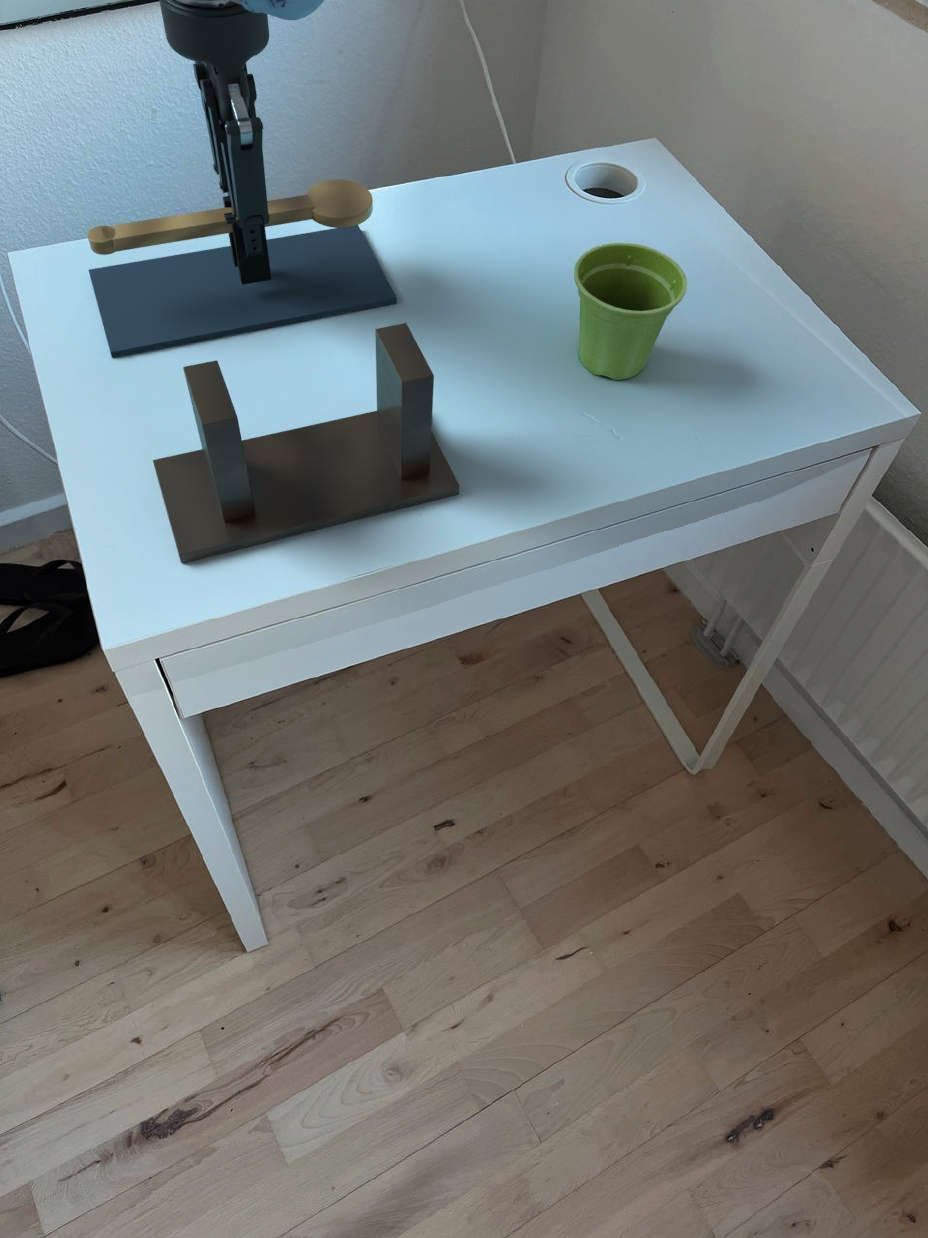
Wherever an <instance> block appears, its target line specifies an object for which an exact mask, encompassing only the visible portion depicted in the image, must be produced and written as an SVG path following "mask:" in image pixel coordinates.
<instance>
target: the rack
mask: <svg viewBox="0 0 928 1238" xmlns="http://www.w3.org/2000/svg"><path fill="white" fill-rule="evenodd" d="M374 332H375V375H376V377H375V378H376V379H375V381H376V382H375V383H376V410H374V411H369V412H365V413H364V412H363V413H359V414H356V415H355V414H354V415H352V416H351V415H350V416H347V417H342V418H338V419H333V420H329V421H324V422H320V423H315V424H310V425H305V426H301V427H297V428H292V429H288V430H283V431H277V432H274V433H269V434H265V435H261V436H256V437H252V438H246V439H243V440H242V434H241V429H240V422H239V418H238V415H237V413H236V409H235V406H234V403H233V401H232V400H233V399H232V398H231V394H230V392H229V389H228V387H227V384H226V381H225V378H224V375H223V372H222V369H221V366H220V364H219V361H218V360H217V359H216V360H212V361H207V362H206V361H205V362H201V363H196V364H191V365H185V366H183V367H182V369H183V373H184V377H185V382H186V386H187V390H188V395H189V398H190V403H191V406H192V407H191V408H192V412H193V415H194V420H195V424H196V428H197V432H198V436H199V441H200V445H201V449H197V450H193V451H192V450H191V451H188V452H184V453H179V454H174V455H170V456H166V457H161V458H156V459H153V460H152V463H153V467H154V471H155V474H156V478H157V481H158V485H159V488H160V493H161V496H162V499H163V504H164V508H165V510H166V514H167V518H168V521H169V525H170V529H171V531H172V536H173V539H174V543H175V547H176V550H177V555H178V557H179V560H180V563H181V564H184V563H189V562H193V561H197V560H200V559H205V558H208V557H213V556H216V555H217V556H218V555H221V554H224V553H229V552H233V551H237V550H240V549H244V548H249V547H253V546H258V545H261V544H265V543H269V542H272V541H278V540H281V539H285V538H288V537H293V536H296V535H297V536H298V535H301V534H305V533H308V532H313V531H316V530H322V529H324V528H329V527H332V526H337V525H341V524H344V523H348V522H349V523H350V522H353V521H356V520H361V519H365V518H369V517H372V516H373V517H374V516H376V515H377V516H378V515H380V514H386V513H390V512H393V511H397V510H400V509H405V508H409V507H412V506H417V505H420V504H421V505H422V504H424V503H425V504H426V503H428V502H429V503H430V502H432V501H436V500H441V499H446V498H449V497H452V496H458V495H459V494H460V487H461V485H460V484H459V481H458V480H457V478H456V476H455V474H454V472H453V470H452V468H451V466H450V464H449V462H448V460H447V458H446V456H445V454H444V451H443V449H442V448H441V446H440V444H439V442H438V440H437V438H436V436H435V434H434V432H433V429H432V428H433V427H432V426H433V407H434V406H433V405H434V386H435V385H434V381H435V374H434V373H433V371H432V368H431V366H430V365H429V363H428V361H427V359H426V358H425V356H424V354H423V351H422V350H421V348H420V346H419V344H418V342H417V340H416V339H415V337H414V335H413V333H412V331H411V329H410V328H409V326H408V324H407V322H403V323H398V324H393V325H392V324H391V325H388V326H387V325H386V326H383V327H382V326H381V327H377V328H375V331H374Z"/></svg>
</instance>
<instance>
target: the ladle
mask: <svg viewBox="0 0 928 1238" xmlns="http://www.w3.org/2000/svg"><path fill="white" fill-rule="evenodd" d="M373 200H374V199H373V195H372V192H371V191H370V190H369V189H368V188H367V187H366V186H364V185H363V184H361V183H359V182H356V181H353V180H348V179H340V178H339V179H328V180H324V181H320V182H317V183H316V184H313V185H312V186H311V187H310V188H309V189H308V190H307V191H306V193H305V194H303V195H297V196H289V197H283V198H278V199H271V200H267V205H268V213H269V217H270V219H269V224H265V228H269V227H274V226H280V225H286V224H292V223H299V222H303V221H304V222H305V221H310V220H312V221H313V222H315V223H318V224H319V225H321V226H325V227H328V228H333V229H334V228H346V227H352V226H356V225H358V226H359V225H360V224H362V223H364V222H366V221H367V220H369V218H370V217H371V216H372V214H373V210H374V201H373ZM231 212H232V207H226V208H224V207H220V208H213V209H207V210H201V211H195V212H188V213H182V214H175V215H170V216H163V217H156V218H150V219H145V220H138V221H131V222H125V223H119V224H118V223H117V224H113V225H97V226H94V227H92V228H90V230H88V232H87V234H86V235H87V236H86V237H87V240H88V243H89V244H88V245H89V247H90V249H91V251H92V252H93V253H95V254H96V255H101V256H106V255H113V254H114V253H116V252H121V251H123V252H124V251H129V250H134V249H141V248H148V247H152V246H158V245H167V244H170V243H176V242H178V243H179V242H183V241H189V240H194V239H195V240H196V239H201V238H209V237H213V236H219V235H226V234H229V233H232V232H233V230H232V224H228V225H227V224H226V221H225V217H224V213H231Z"/></svg>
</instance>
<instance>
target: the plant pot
mask: <svg viewBox="0 0 928 1238" xmlns="http://www.w3.org/2000/svg"><path fill="white" fill-rule="evenodd" d="M573 279H574V282H575V283H574V284H575V285H576V287H577V292H578V293H577V294H578V296H579V324H578V325H579V326H578V328H579V329H578V330H579V331H578V359H579V361H580V363H581V364H582V366H583V367H584V368H585V369H586V370H587V371H588V372H590V373H592V374H594V375H595V376H603V377H608V378H610V379H611V380H614V381H615V380H616V381H617V380H618V381H619V380H620V381H621V380H626V379H630V378H633V377H635V376H637V375H638V374H639V373H641V372H642V371H643V369H644V368H645V366H646V364H647V362H648V360H649V358H650V355H651V352H652V350H653V348H654V346H655V343H656V341H657V340H658V337H659V335H660V333H661V331H662V328H663V326H664V325H665V322H666V320H667V317H668V316H669V315H670V314H671V313H672V312H673V310H674V308H675V307H676V306H678V305H679V303H680V302H681V301H682V300H683V299H684V296H685V295H686V293H687V288H688V281H687V276H686V274H685V272H684V270H683V269H682V267H681V266H680V265H679V264H678V263H677V262H676V261H675V260H674V259H672V258H671V256H668V255H667V254H665V253H663V252H661V251H659V250H657V249H655V248H651V247H649V246H646V245H642V244H638V243H631V242H609V243H605V244H604V243H603V244H601V245H597V246H595V247H592V248H590V249H589V250H587V251H585V252H583V254H581V255H580V256H579V258H578V259H577V260H576V262H575V265H574V267H573Z"/></svg>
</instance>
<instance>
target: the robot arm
mask: <svg viewBox="0 0 928 1238" xmlns="http://www.w3.org/2000/svg"><path fill="white" fill-rule="evenodd" d="M324 2H325V0H159V5H160V11H161V17H162V22H163V28H164V33H165V39H166V41H167V43H168V45H169V47H171V49H172V50H173V51H174V53H176V54H178V55H179V56H181V57H182V58H185V59H187V60H189V61H192V62H194V63H193V64H192V67H193V75H194V78H195V82H196V84H197V86H198V89H199V91H200V97H201V105H202V109H203V112H204V117H205V123H206V128H207V134H208V139H209V144H210V149H211V155H212V161H213V164H212V167H213V170H214V173H216V175H217V176H218V177H219V181H218V186H219V189H220V190H221V192H222V194H227V195H225V196H222V200H223V208H226V207H232V212H231V213H224V217H225V221H226V224H227V225H228V224H232V230H233V232H232V233H228V238H229V246H231V251H232V258H233V263H234V265H235V267H238V269H239V275H240V280H241V283H242V285H244V284H250V283H255V282H261V281H267V280H272V279H271V271H270V264H269V256H268V248H267V240H268V239H267V233H266V227H265V224H269V219H270V217H269V213H268V205H267V201H268V197H267V195H268V194H267V184H266V172H265V162H264V151H263V138H264V137H263V136H264V135H263V134H264V132H263V131H264V124H263V123H264V122H263V121H262V119H261V118H260V116H257V112H256V111H257V110H256V101H257V97H258V95H257V88H256V82H255V78H254V75H253V73H249V72H248V66H247V62H248V61H249V60H251V59H252V58H253V57H255V56H258V55H260V54H261V53H262V52H263V51H264V50H265V49H266V48H267V46H268V43H269V40H270V26H269V18H268V17H269V16H270V17H271V16H272V17H275V18H278V19H281V20H283V21H284V20H285V21H297V20H301V19H304V18H306V17H308V16H309V15H312V14H313V13H314V12H315V11H317V9H319V7H320V6H321V5H323V3H324Z"/></svg>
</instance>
